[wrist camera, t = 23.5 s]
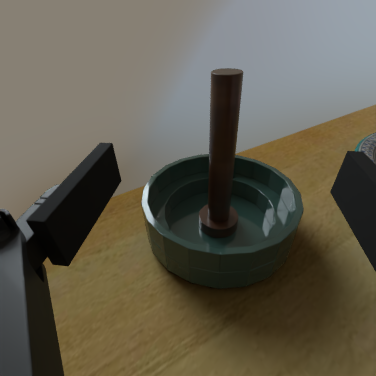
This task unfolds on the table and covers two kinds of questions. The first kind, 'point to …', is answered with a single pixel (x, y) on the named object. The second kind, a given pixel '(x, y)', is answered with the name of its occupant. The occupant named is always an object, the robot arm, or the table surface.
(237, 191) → the stir bowl
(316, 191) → the table surface
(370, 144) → the bowl
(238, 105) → the spurtle
